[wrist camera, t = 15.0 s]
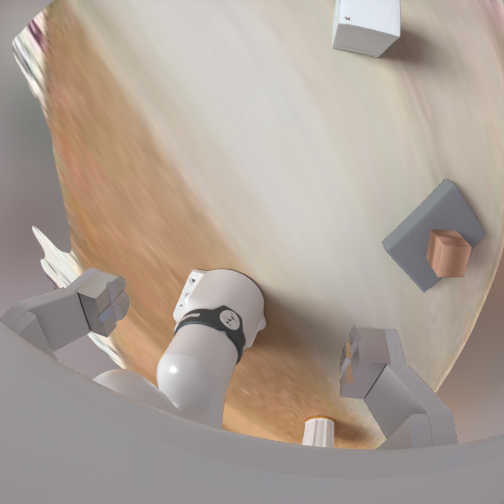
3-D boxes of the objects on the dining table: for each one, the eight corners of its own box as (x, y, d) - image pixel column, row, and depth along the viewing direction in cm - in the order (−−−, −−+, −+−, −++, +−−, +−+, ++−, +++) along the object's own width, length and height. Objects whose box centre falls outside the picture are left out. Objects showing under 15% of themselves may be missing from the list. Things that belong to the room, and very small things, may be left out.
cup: (345, 423, 71) (342, 472, 56) (316, 433, 77) (311, 478, 62) (323, 410, 69) (318, 462, 54) (294, 420, 75) (285, 469, 60)
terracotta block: (425, 257, 40) (437, 277, 35) (430, 229, 37) (444, 246, 32) (450, 258, 39) (463, 276, 33) (456, 230, 36) (471, 247, 31)
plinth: (419, 282, 46) (424, 294, 43) (381, 242, 44) (386, 252, 41) (478, 226, 38) (487, 235, 35) (445, 178, 37) (455, 184, 33)
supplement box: (378, 59, 31) (401, 39, 20) (330, 48, 32) (335, 23, 21) (381, 19, 28) (401, -10, 17) (333, 9, 29) (338, -25, 18)
